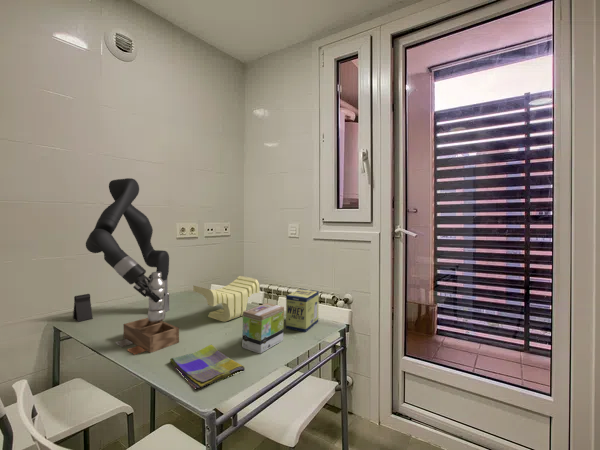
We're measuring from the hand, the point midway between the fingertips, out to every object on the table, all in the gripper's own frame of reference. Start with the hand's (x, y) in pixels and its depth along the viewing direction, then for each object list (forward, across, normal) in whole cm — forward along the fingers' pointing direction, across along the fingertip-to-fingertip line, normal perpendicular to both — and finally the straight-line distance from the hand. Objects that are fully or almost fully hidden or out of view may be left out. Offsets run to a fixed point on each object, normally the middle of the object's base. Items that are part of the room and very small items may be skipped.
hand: (161, 298), depth 120 cm
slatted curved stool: (+30, +30, -4) cm, 42 cm away
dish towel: (+29, -22, -2) cm, 36 cm away
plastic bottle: (+5, 0, +8) cm, 10 cm away
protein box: (+56, +13, -30) cm, 65 cm away
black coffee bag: (-21, +36, +48) cm, 63 cm away
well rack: (+8, +2, +18) cm, 20 cm away
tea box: (+42, -6, -16) cm, 46 cm away
